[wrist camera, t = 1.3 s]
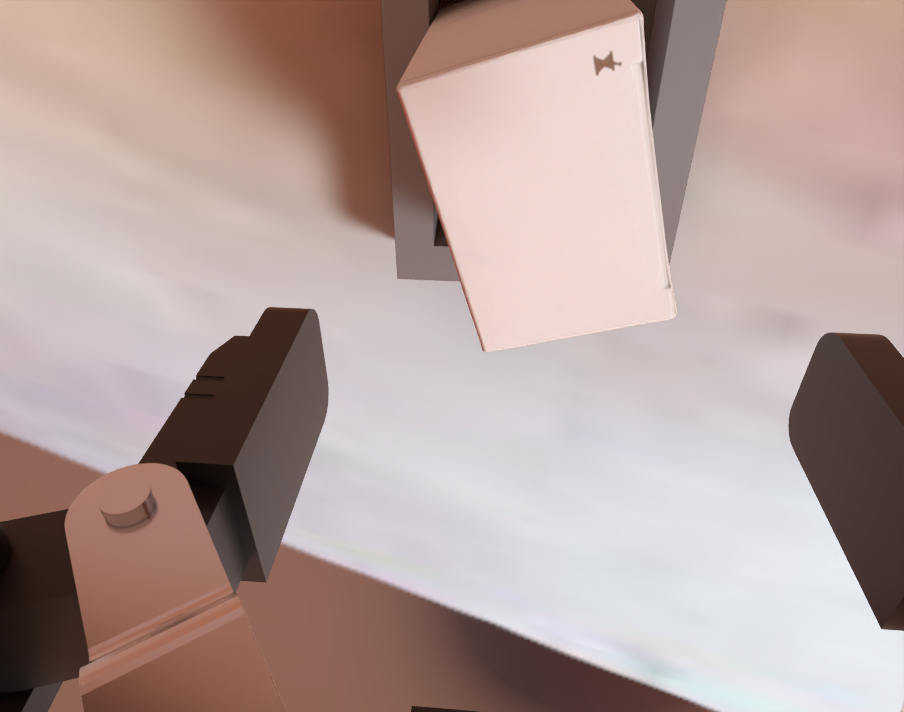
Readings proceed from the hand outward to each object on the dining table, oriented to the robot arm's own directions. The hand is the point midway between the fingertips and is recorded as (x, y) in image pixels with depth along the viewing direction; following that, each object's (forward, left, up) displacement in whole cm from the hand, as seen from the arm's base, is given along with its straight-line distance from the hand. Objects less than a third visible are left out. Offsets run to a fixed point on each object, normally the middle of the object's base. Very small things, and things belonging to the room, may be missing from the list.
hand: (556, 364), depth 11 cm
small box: (0, 0, -17) cm, 17 cm away
